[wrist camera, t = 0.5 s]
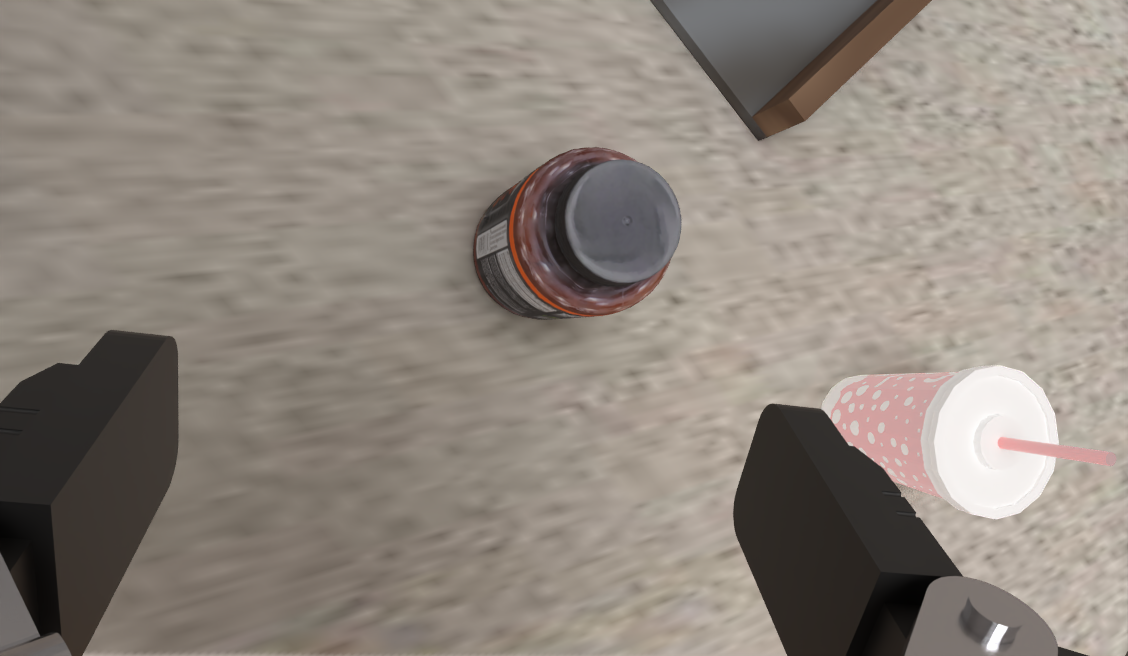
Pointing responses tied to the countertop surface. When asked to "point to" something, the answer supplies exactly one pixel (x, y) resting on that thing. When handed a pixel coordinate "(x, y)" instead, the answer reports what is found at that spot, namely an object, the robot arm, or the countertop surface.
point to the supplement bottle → (578, 237)
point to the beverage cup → (957, 434)
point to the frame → (784, 49)
